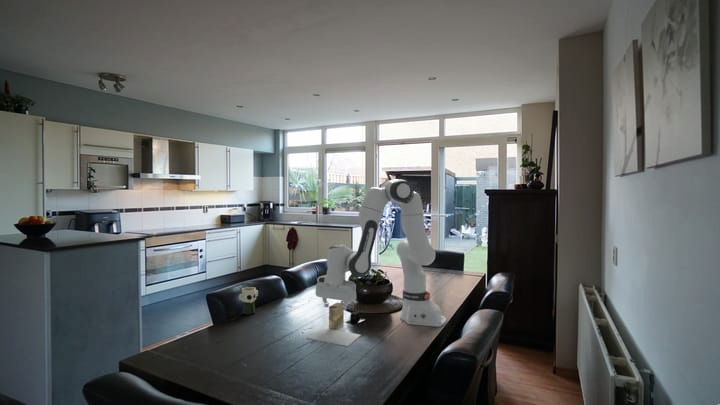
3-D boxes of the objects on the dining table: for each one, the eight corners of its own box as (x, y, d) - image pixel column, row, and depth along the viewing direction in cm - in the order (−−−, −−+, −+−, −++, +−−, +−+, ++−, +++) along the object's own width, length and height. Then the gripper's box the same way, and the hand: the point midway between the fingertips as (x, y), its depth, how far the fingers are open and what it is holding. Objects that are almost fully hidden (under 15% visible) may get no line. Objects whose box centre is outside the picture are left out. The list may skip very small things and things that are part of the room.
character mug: (243, 317, 188) (243, 291, 187) (235, 314, 192) (235, 289, 192) (261, 312, 196) (261, 287, 196) (253, 309, 201) (253, 285, 200)
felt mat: (360, 335, 165) (360, 334, 165) (347, 346, 153) (347, 345, 153) (321, 328, 173) (321, 327, 173) (306, 338, 162) (306, 337, 162)
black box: (353, 327, 177) (353, 317, 177) (341, 324, 181) (341, 314, 181) (368, 320, 187) (368, 311, 187) (356, 317, 191) (356, 308, 191)
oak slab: (343, 324, 179) (343, 303, 178) (335, 330, 172) (335, 308, 171) (337, 323, 180) (337, 302, 180) (328, 329, 173) (329, 306, 173)
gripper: (358, 280, 174) (358, 310, 174) (320, 275, 182) (320, 303, 182) (353, 283, 168) (352, 313, 168) (314, 277, 176) (313, 307, 177)
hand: (335, 308), depth 175 cm, fingers open, 8 cm apart
